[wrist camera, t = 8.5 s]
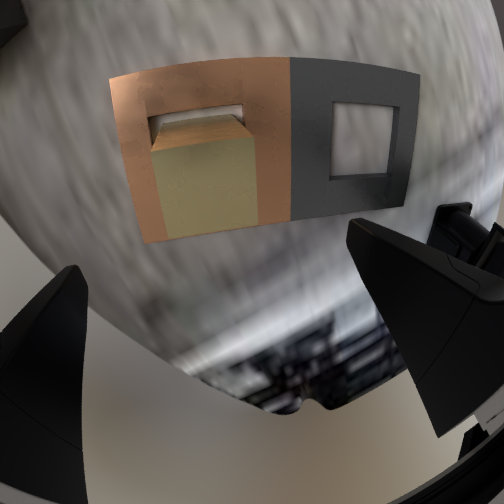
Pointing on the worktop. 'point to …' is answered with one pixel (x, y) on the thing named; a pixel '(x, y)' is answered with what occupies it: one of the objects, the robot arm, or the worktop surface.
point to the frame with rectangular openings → (272, 130)
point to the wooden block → (205, 175)
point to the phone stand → (10, 20)
